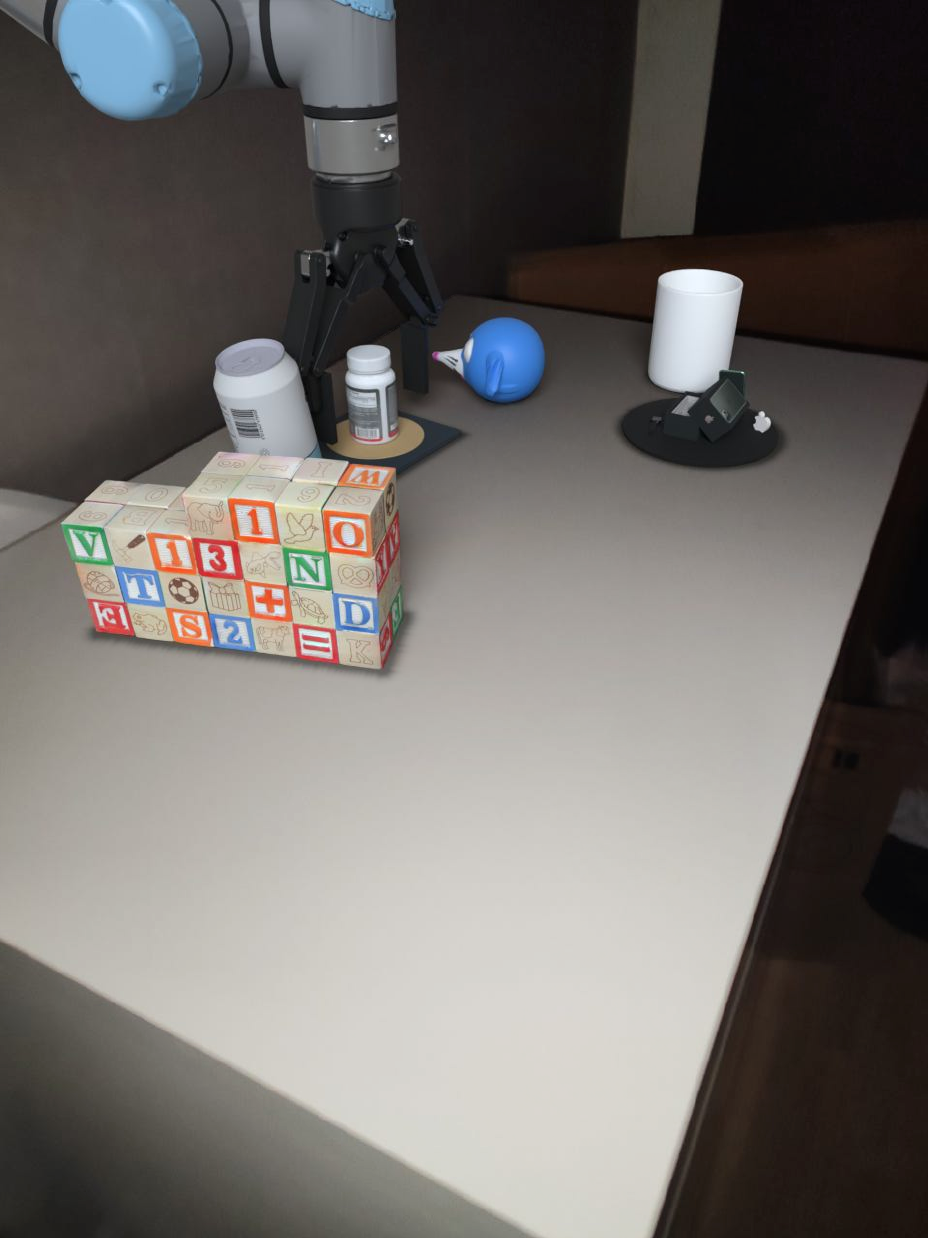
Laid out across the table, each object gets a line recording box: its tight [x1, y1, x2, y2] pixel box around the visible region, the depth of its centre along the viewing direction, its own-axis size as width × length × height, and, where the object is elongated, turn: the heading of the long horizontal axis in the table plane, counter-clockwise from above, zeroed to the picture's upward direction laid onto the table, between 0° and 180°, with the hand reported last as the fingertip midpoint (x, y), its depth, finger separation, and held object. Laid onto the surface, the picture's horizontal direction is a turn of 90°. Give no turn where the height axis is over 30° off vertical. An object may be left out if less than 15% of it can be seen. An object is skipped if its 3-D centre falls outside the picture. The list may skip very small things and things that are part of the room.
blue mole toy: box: [431, 316, 546, 404], centre depth 95 cm, size 12×12×8 cm
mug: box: [647, 268, 744, 394], centre depth 99 cm, size 9×12×11 cm
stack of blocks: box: [60, 451, 404, 670], centre depth 62 cm, size 21×6×12 cm, turn 79°
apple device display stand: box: [622, 369, 779, 468], centre depth 89 cm, size 15×15×6 cm
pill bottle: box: [344, 344, 399, 445], centre depth 86 cm, size 5×5×8 cm
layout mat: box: [318, 410, 462, 476], centre depth 85 cm, size 12×24×1 cm, turn 144°
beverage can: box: [212, 338, 322, 460], centre depth 76 cm, size 7×7×12 cm
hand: (372, 414), depth 88 cm, fingers open, 13 cm apart
